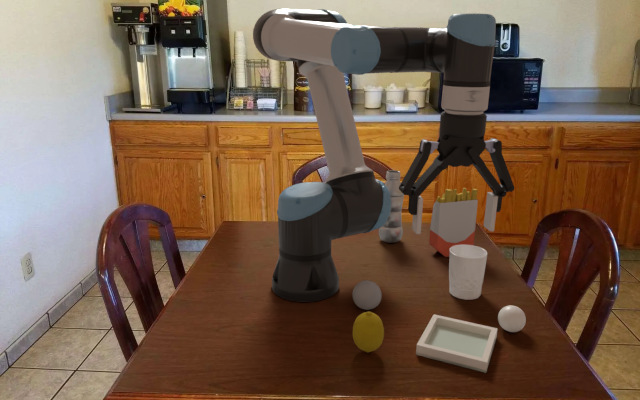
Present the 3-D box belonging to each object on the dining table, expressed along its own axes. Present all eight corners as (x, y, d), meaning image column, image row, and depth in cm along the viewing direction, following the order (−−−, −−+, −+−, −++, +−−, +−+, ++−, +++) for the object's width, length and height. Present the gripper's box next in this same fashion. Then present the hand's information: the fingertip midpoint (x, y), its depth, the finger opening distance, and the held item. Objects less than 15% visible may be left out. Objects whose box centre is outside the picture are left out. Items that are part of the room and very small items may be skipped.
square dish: (415, 354, 90) (416, 344, 90) (433, 323, 101) (433, 314, 100) (486, 373, 85) (487, 362, 85) (496, 337, 96) (497, 328, 95)
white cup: (484, 303, 109) (489, 259, 106) (446, 299, 110) (450, 256, 107) (481, 286, 116) (485, 245, 113) (445, 283, 118) (448, 243, 115)
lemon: (380, 343, 94) (382, 304, 92) (385, 360, 89) (387, 319, 86) (350, 343, 94) (351, 304, 91) (353, 361, 88) (354, 320, 86)
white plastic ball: (494, 333, 97) (497, 309, 96) (498, 321, 101) (501, 298, 100) (522, 339, 95) (526, 315, 94) (525, 327, 99) (528, 304, 98)
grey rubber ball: (347, 311, 105) (348, 284, 104) (358, 298, 110) (359, 273, 109) (375, 317, 103) (376, 290, 101) (385, 304, 108) (386, 278, 106)
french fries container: (427, 251, 136) (432, 186, 131) (463, 247, 139) (468, 183, 134) (436, 258, 132) (441, 191, 127) (473, 253, 135) (479, 187, 130)
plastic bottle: (374, 238, 145) (376, 170, 140) (396, 235, 147) (399, 168, 142) (384, 246, 140) (386, 175, 134) (406, 243, 142) (410, 173, 136)
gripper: (397, 115, 81) (390, 240, 87) (545, 114, 84) (528, 234, 90) (385, 109, 88) (380, 225, 94) (522, 108, 91) (508, 220, 97)
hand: (452, 230), depth 92 cm, fingers open, 13 cm apart
